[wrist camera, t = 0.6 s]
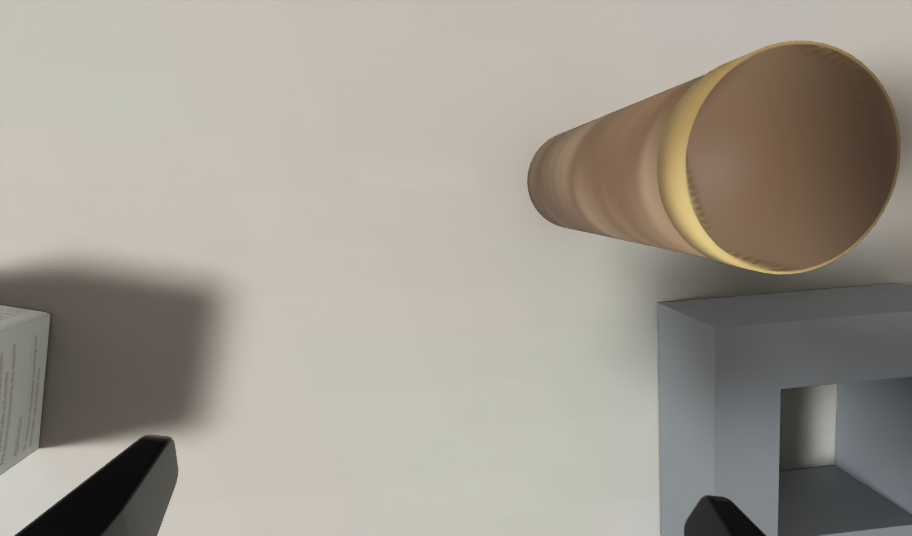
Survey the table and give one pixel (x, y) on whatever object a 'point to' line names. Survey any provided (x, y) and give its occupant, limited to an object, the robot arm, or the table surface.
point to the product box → (21, 381)
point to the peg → (735, 163)
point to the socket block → (758, 408)
